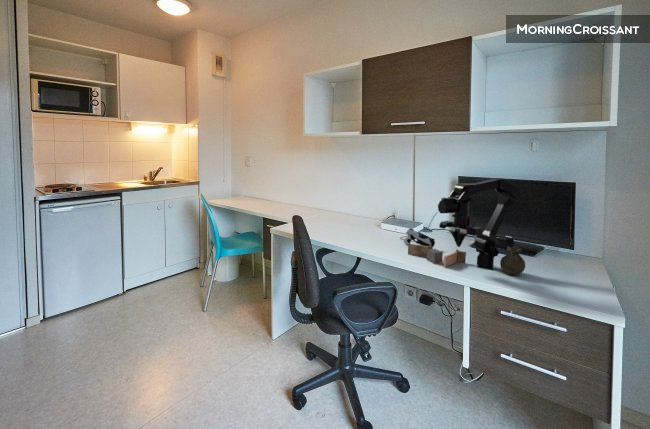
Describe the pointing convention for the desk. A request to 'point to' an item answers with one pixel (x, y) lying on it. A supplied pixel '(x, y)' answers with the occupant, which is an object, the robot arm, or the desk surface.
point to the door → (450, 259)
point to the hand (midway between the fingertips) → (458, 246)
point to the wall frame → (422, 250)
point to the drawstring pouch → (513, 261)
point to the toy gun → (418, 238)
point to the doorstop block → (434, 256)
